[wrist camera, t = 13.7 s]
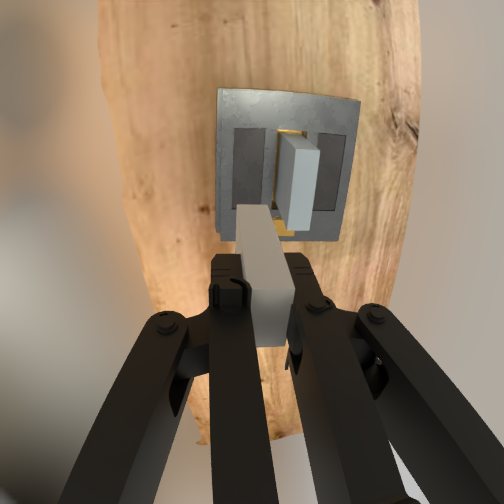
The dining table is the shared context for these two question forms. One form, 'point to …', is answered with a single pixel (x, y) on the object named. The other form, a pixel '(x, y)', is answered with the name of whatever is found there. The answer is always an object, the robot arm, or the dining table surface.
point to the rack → (265, 149)
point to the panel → (295, 179)
